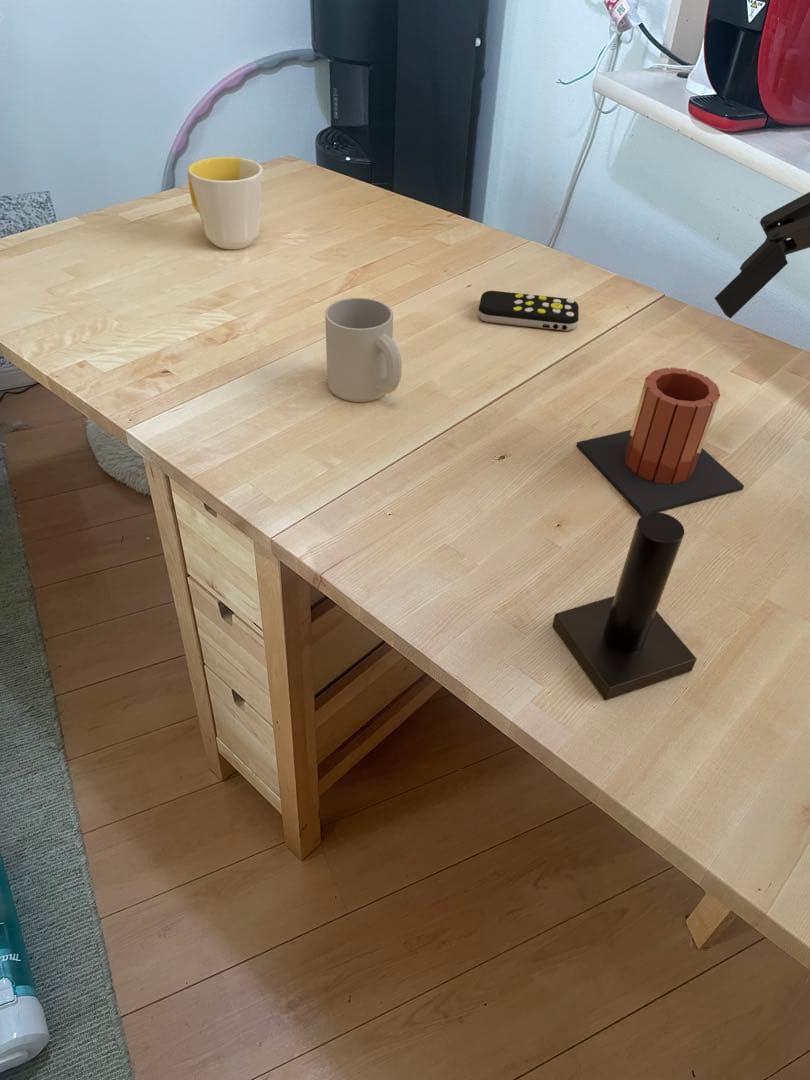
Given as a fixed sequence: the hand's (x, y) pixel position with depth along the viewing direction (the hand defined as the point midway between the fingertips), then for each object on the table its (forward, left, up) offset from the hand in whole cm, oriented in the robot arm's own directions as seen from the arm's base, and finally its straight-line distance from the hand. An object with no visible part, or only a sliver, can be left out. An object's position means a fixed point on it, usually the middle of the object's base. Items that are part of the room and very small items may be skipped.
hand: (774, 344), depth 68 cm
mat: (+6, +3, -17) cm, 18 cm away
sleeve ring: (+6, +3, -16) cm, 17 cm away
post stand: (-13, +20, -17) cm, 29 cm away
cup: (+29, +26, -17) cm, 42 cm away
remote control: (+39, 0, -17) cm, 42 cm away
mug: (+75, +31, -17) cm, 83 cm away
